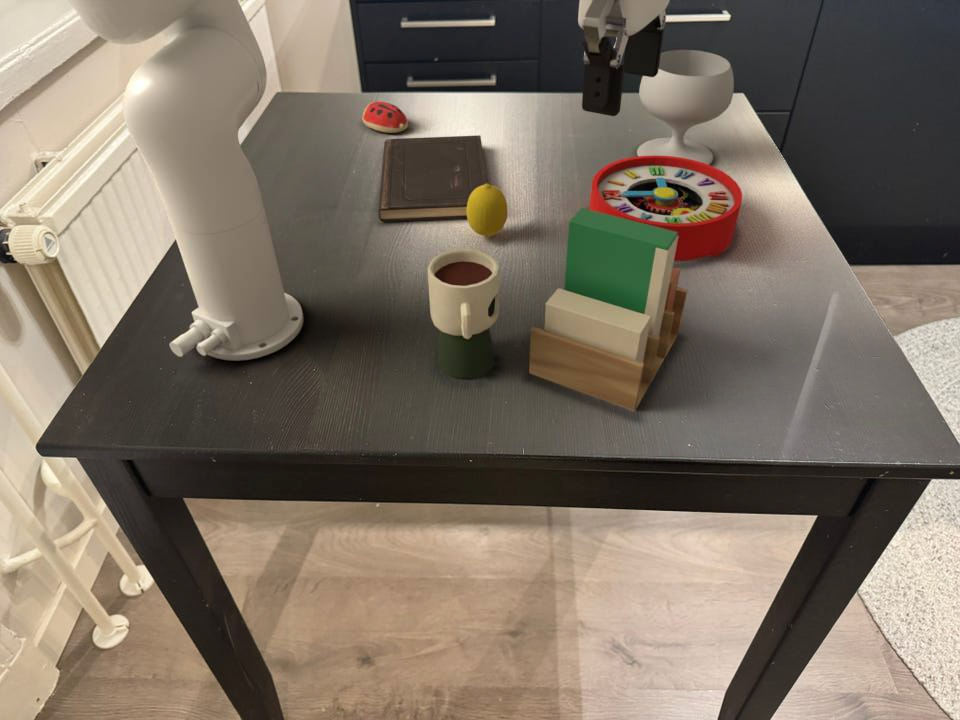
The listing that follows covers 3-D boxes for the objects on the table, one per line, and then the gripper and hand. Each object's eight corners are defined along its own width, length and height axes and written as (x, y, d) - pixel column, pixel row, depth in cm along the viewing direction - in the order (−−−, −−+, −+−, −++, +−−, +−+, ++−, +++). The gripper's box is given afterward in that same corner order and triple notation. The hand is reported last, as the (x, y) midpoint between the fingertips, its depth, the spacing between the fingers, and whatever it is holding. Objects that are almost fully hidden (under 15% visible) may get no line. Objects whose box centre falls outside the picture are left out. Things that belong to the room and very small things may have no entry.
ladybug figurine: (381, 113, 133) (379, 93, 131) (419, 127, 128) (417, 107, 126) (353, 124, 130) (350, 105, 127) (391, 140, 125) (389, 119, 122)
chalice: (636, 134, 125) (648, 44, 115) (719, 143, 122) (739, 50, 112) (626, 171, 115) (638, 75, 105) (717, 181, 112) (738, 83, 102)
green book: (645, 375, 78) (668, 247, 67) (559, 346, 81) (568, 221, 71) (655, 358, 80) (679, 232, 69) (570, 330, 83) (581, 207, 73)
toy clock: (759, 226, 90) (598, 225, 91) (748, 265, 94) (594, 265, 95) (724, 155, 105) (586, 155, 106) (716, 191, 109) (582, 191, 110)
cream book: (629, 401, 75) (640, 333, 69) (541, 369, 78) (545, 303, 72) (639, 383, 77) (651, 316, 71) (553, 354, 80) (558, 287, 74)
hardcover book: (480, 148, 122) (480, 135, 120) (490, 217, 104) (490, 203, 103) (385, 152, 121) (383, 139, 120) (379, 222, 104) (377, 208, 102)
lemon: (503, 249, 98) (503, 196, 93) (463, 245, 99) (461, 192, 94) (510, 228, 102) (511, 176, 97) (471, 224, 103) (470, 173, 98)
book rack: (633, 416, 74) (642, 366, 70) (528, 378, 79) (530, 329, 74) (677, 337, 83) (688, 289, 79) (581, 307, 88) (586, 260, 84)
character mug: (503, 397, 76) (504, 297, 68) (435, 401, 76) (428, 301, 68) (494, 332, 85) (494, 236, 76) (433, 336, 84) (426, 239, 76)
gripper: (637, -159, 60) (616, 55, 71) (548, -128, 48) (540, 121, 60) (728, -156, 57) (691, 67, 68) (657, -122, 45) (627, 138, 57)
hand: (621, 92), depth 64 cm, fingers open, 9 cm apart
